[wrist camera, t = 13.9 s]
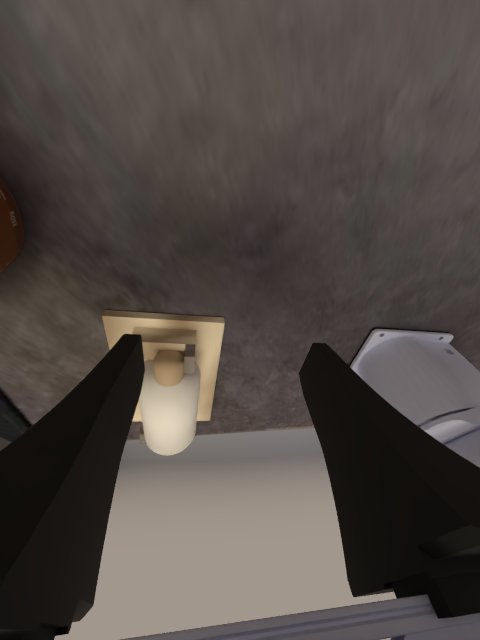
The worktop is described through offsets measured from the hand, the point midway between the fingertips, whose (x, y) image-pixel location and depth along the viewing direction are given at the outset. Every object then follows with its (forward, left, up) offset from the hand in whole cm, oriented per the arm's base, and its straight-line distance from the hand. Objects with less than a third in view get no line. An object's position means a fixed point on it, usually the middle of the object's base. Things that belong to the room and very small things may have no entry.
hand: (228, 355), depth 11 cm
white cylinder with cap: (+5, +14, -9) cm, 17 cm away
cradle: (+4, +14, -10) cm, 18 cm away
